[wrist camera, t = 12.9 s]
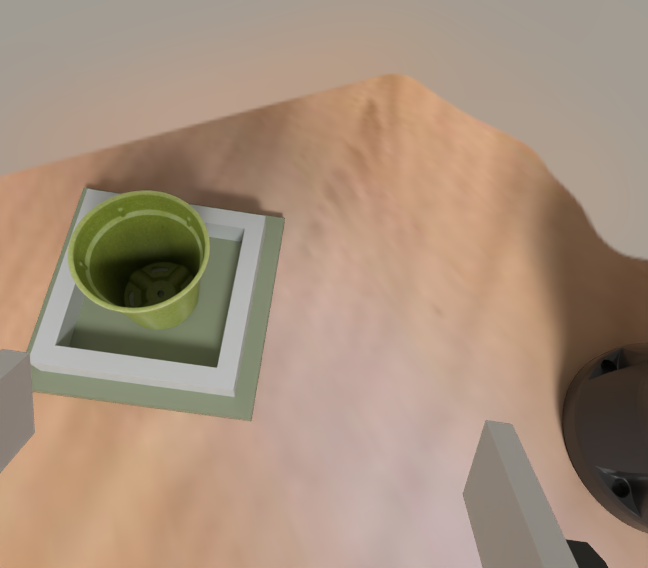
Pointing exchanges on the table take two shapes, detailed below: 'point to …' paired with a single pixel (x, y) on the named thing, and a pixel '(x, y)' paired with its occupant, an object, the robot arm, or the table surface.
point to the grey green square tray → (169, 344)
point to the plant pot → (141, 257)
